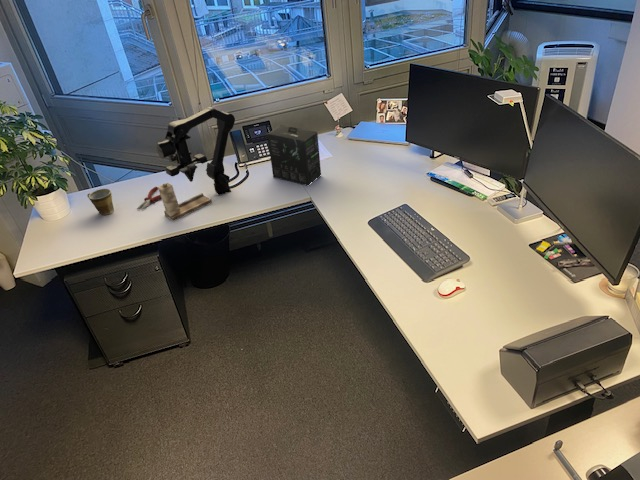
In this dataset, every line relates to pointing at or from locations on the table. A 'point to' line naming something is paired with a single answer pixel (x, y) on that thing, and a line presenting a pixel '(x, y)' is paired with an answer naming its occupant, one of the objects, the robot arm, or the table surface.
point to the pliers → (149, 199)
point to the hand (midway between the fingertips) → (191, 181)
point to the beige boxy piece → (169, 199)
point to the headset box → (294, 154)
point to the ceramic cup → (102, 201)
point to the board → (190, 206)
